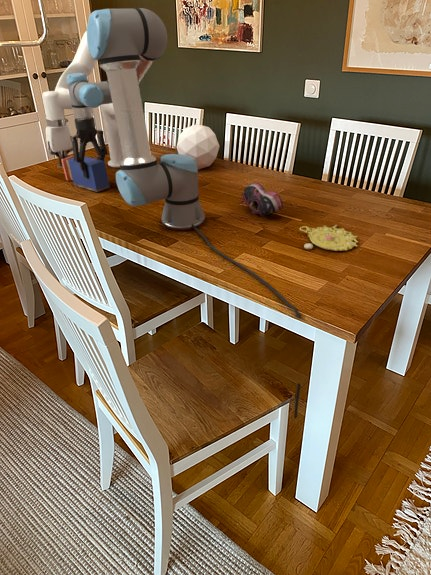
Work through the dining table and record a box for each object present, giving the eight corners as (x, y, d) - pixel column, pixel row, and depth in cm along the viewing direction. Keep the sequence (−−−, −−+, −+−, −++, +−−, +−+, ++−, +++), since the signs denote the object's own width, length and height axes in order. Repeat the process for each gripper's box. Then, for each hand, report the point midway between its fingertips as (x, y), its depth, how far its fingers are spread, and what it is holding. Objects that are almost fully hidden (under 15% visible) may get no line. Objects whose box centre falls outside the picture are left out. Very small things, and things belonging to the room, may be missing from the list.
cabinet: (74, 185, 192) (67, 159, 186) (86, 180, 196) (80, 155, 190) (97, 192, 182) (91, 165, 176) (110, 187, 186) (104, 160, 180)
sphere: (204, 184, 208) (201, 158, 189) (171, 163, 213) (165, 136, 194) (227, 156, 213) (227, 128, 194) (194, 137, 217) (191, 107, 199)
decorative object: (343, 255, 128) (285, 234, 139) (342, 262, 130) (284, 241, 140) (372, 230, 142) (317, 213, 152) (371, 237, 143) (316, 219, 153)
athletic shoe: (254, 181, 170) (227, 189, 167) (283, 176, 151) (253, 185, 147) (260, 210, 173) (234, 218, 170) (290, 209, 154) (261, 219, 150)
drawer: (59, 178, 200) (53, 157, 195) (69, 174, 203) (64, 154, 198) (86, 186, 187) (81, 164, 182) (97, 182, 190) (92, 161, 185)
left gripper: (68, 119, 194) (74, 161, 203) (35, 124, 185) (44, 167, 194) (76, 121, 189) (83, 164, 199) (44, 126, 180) (52, 171, 190)
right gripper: (100, 111, 179) (109, 167, 192) (55, 120, 168) (68, 179, 181) (111, 114, 174) (119, 171, 187) (65, 124, 163) (77, 183, 176)
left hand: (64, 166), depth 196 cm, fingers closed
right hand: (94, 175), depth 184 cm, fingers closed on cabinet, 7 cm apart
